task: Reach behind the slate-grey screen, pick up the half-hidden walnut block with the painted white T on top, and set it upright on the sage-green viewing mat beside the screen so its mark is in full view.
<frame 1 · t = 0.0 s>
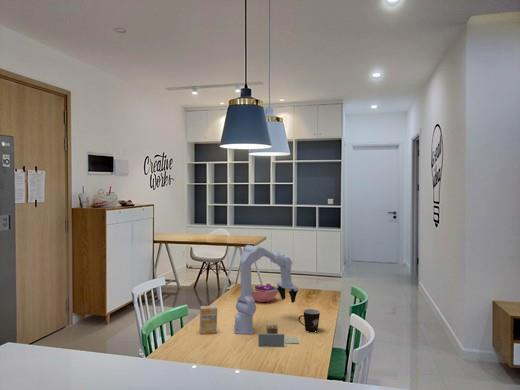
hand: (288, 300, 224), 11 cm above the table, tool pointing down, fingers open, 7 cm apart
walnut block: (271, 338, 194), on the table
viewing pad: (290, 341, 191), on the table
screen: (271, 345, 185), on the table
supplement box: (208, 332, 200), on the table
cell model: (263, 301, 261), on the table
coffee mug: (308, 330, 206), on the table
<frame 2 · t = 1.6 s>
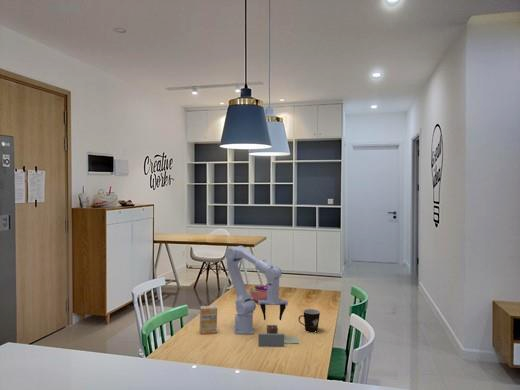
hand: (272, 319, 194), 9 cm above the table, tool pointing down, fingers open, 7 cm apart
nothing on the table moved.
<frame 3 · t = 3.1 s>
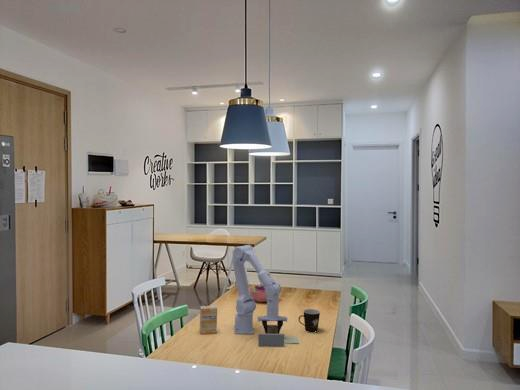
hand: (272, 335, 194), 1 cm above the table, tool pointing down, fingers closed on walnut block, 5 cm apart
walnut block: (271, 338, 194), on the table, touching gripper
everything else where it was.
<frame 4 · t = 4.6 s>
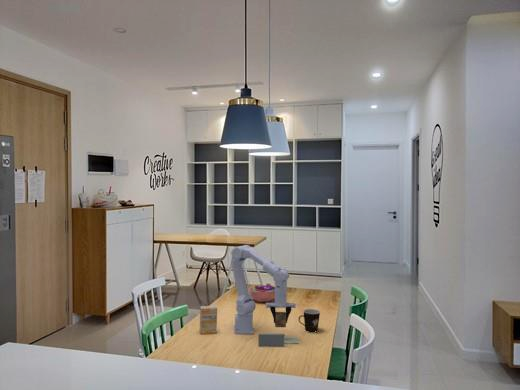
hand: (280, 322, 192), 9 cm above the table, tool pointing down, fingers closed on walnut block, 5 cm apart
walnut block: (280, 325, 192), point 7 cm above the table, touching gripper
everything else where it was.
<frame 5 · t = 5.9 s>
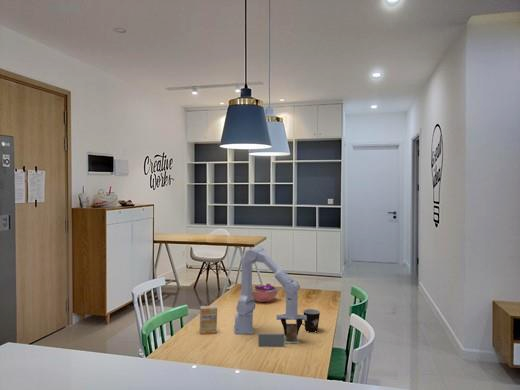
hand: (291, 334, 191), 3 cm above the table, tool pointing down, fingers closed on walnut block, 5 cm apart
walnut block: (291, 337, 191), point 2 cm above the table, touching gripper
everything else where it was.
when the fingers open (3 cm above the table, at t = 6.5 s): walnut block stays where it is, resting on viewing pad.
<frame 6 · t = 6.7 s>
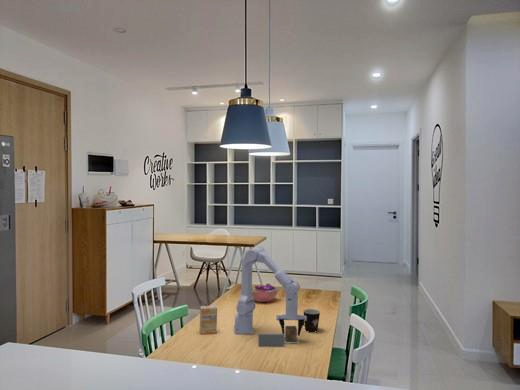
hand: (291, 335, 191), 3 cm above the table, tool pointing down, fingers open, 7 cm apart
walnut block: (290, 340, 191), point 1 cm above the table, touching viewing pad
everything else where it was.
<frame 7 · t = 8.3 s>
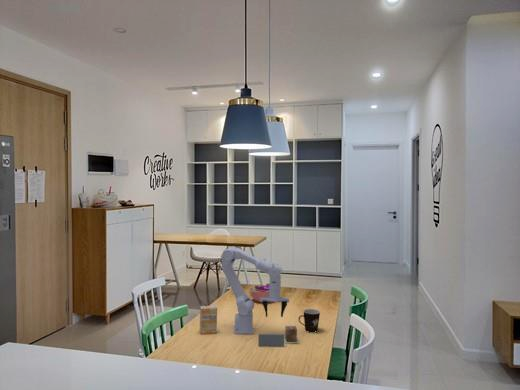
hand: (274, 316, 199), 9 cm above the table, tool pointing down, fingers open, 7 cm apart
nothing on the table moved.
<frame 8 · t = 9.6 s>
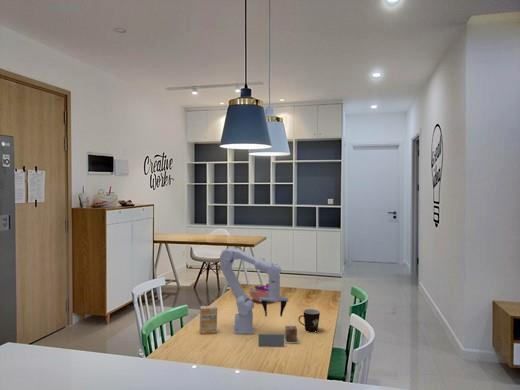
hand: (273, 315, 200), 9 cm above the table, tool pointing down, fingers open, 7 cm apart
nothing on the table moved.
at the end: walnut block 0.1 cm off-centre on the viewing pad, point 0.6 cm above the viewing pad's base; walnut block tilted 0°; the gripper is holding nothing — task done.
